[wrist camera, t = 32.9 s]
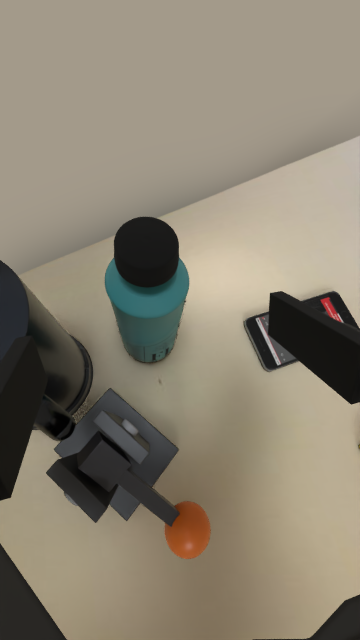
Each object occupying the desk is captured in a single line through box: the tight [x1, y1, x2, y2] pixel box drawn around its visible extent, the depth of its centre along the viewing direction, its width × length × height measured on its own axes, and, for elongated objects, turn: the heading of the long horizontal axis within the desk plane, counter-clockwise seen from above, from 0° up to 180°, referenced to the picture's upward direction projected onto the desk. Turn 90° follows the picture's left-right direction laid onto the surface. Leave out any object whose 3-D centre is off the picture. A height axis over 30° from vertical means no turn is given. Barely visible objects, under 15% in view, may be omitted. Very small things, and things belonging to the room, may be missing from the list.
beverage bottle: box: [105, 217, 189, 363], centre depth 25 cm, size 6×7×20 cm
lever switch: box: [77, 431, 211, 559], centre depth 21 cm, size 12×4×4 cm, turn 51°
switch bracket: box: [46, 388, 179, 523], centre depth 24 cm, size 10×8×13 cm
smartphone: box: [244, 291, 360, 371], centre depth 37 cm, size 7×1×15 cm
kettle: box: [0, 260, 92, 441], centre depth 23 cm, size 17×11×19 cm, turn 51°
